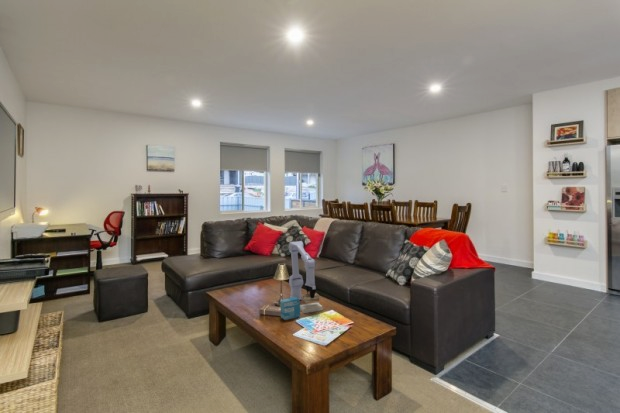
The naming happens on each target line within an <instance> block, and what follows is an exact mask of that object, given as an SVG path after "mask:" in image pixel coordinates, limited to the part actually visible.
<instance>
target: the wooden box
mask: <svg viewBox="0 0 620 413" xmlns="http://www.w3.org/2000/svg"><path fill="white" fill-rule="evenodd" d="M302 298H303V299H302V301H303V302H304V304H310V303H317V302H320V295H319V294H318V293H317V292H315V296H314V298H311V297H310V296H308V294H307V293H305V294H304V293H303V294H302Z"/></svg>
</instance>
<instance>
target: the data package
mask: <svg viewBox="0 0 620 413" xmlns="http://www.w3.org/2000/svg"><path fill="white" fill-rule="evenodd" d="M300 305H301V301H300V300H299V299H298V298H296V297H294V298H290V297H289V298H283V299H281V300H280V317H281V319H282V320H284V321H286V320H287V321H288V320H292V319H296V318H299V317H301V310H300Z"/></svg>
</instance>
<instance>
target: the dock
mask: <svg viewBox="0 0 620 413" xmlns="http://www.w3.org/2000/svg"><path fill="white" fill-rule="evenodd" d="M321 311H324V307H323V305H321V303H320V302H319V301H316V302H310V303H304V304H300V312H302V313H303V314H306V313H307V314H308V313H313V312H315V313H316V312H321Z"/></svg>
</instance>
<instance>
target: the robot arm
mask: <svg viewBox="0 0 620 413" xmlns="http://www.w3.org/2000/svg"><path fill="white" fill-rule="evenodd" d="M288 252H289V253H290V256H291V257H290V258H291V269H292V271H291V273H292V274H291V275H290V276H289V278H288V280H289V281H288V285H289V288H290V296H289V298H294V297H296V298H298V299H299V300H302V301H303V296H302V287H303V285H304V287H305V289H306V294H308V291H309V292H310V297H311V298H314V296H315V293H317V290H318V288H317V287H316V283H315V282H316V279H315V272H316V270H315V268H316V266H317V262H316V260H315V259H314V258H312V257H311V256H310V254H309V253H308V252H306V250H305V248H304V242H303V241H302V240H299V241H298V240H297V241H290V242H289V243H288ZM299 254H300V255H301V256H300V258H301V260H302V261H303V263H304V269H305V273H306V274H305V275H306V280H305V283H304V280H303V279H304V278H303V275H301V274H300V268H299Z"/></svg>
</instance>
